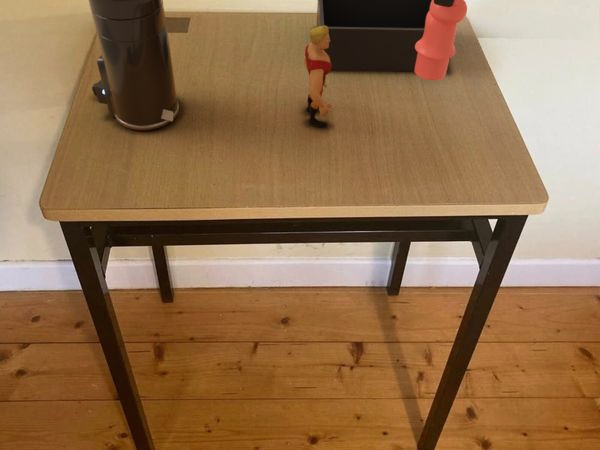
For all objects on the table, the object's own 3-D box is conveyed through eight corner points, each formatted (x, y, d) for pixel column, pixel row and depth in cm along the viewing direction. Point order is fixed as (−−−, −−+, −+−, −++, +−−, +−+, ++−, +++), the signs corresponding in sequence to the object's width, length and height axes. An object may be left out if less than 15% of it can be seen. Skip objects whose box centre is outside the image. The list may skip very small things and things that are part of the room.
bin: (318, 70, 102) (320, 28, 96) (316, 29, 111) (318, -12, 105) (447, 72, 102) (456, 30, 97) (434, 31, 111) (442, -9, 106)
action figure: (332, 136, 90) (339, 43, 79) (307, 137, 90) (311, 44, 79) (324, 98, 96) (329, 7, 85) (301, 99, 96) (304, 8, 85)
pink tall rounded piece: (450, 86, 76) (480, -36, 65) (408, 80, 77) (432, -42, 66) (452, 65, 80) (481, -55, 69) (412, 59, 80) (434, -60, 70)
